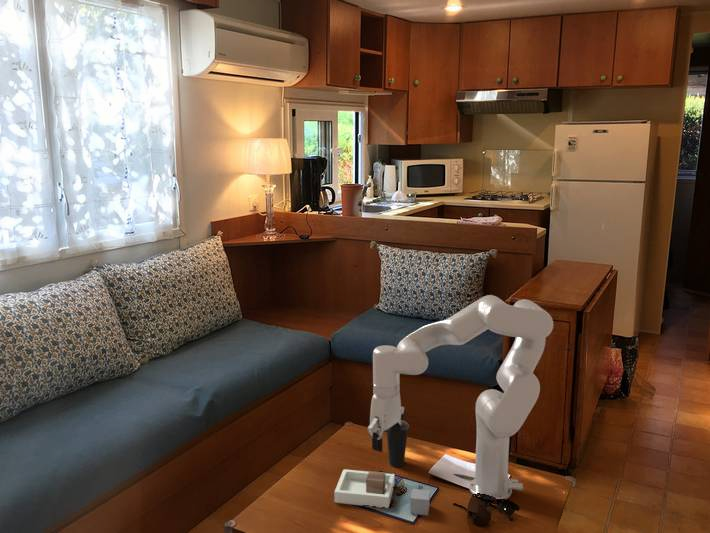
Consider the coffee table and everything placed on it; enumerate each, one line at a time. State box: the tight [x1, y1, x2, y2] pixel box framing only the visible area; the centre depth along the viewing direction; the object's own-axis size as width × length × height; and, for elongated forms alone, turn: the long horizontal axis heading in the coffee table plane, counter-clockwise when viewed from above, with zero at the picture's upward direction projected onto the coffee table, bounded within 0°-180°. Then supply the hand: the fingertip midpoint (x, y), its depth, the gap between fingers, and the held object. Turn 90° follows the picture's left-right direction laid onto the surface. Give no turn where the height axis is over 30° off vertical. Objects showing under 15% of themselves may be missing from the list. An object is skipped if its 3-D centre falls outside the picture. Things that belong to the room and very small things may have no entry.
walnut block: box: [366, 470, 387, 494], centre depth 198 cm, size 5×5×5 cm
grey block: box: [409, 488, 431, 516], centre depth 190 cm, size 5×5×5 cm
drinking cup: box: [385, 419, 410, 468], centre depth 215 cm, size 8×8×20 cm
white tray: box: [333, 468, 395, 509], centre depth 199 cm, size 16×13×4 cm
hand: (386, 443), depth 193 cm, fingers open, 9 cm apart
